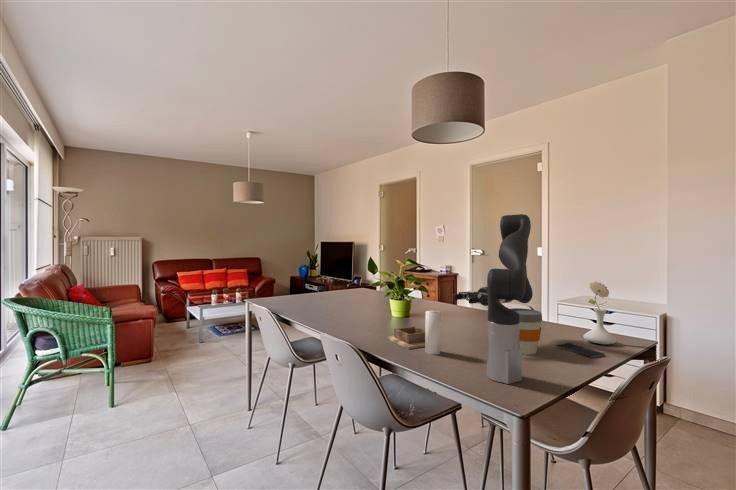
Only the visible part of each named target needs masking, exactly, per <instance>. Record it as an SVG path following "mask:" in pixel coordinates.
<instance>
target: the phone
mask: <svg viewBox="0 0 736 490" xmlns="http://www.w3.org/2000/svg"><path fill="white" fill-rule="evenodd" d="M556 348H558V349H561V350H564V351H567V352H570V353H573V354H576V355H579V356H581V357H584V358H587V359H599V358H602V357H603V358H604V357H606V356H605V355H606V354H605V353H603V352H600V351H597V350H594V349H590V348H587V347H583V346H581V345H578V344H574V343H572V342H571V343H570V342H568V343H567V342H565V343H559V344H556Z"/></svg>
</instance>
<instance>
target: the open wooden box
mask: <svg viewBox="0 0 736 490" xmlns="http://www.w3.org/2000/svg"><path fill="white" fill-rule="evenodd" d="M393 333H394V334H392V335H387V337H386V339H387V340H389V341H391V342H393V343H395V344H397V345H399V346H401V347H403V348H406V349H408V350H412V349H416V348H417V349H418V348H423V347H424V348H425V329H423V328H421V327H418V326H416V325H414V326H407V327H399V328H394V330H393Z"/></svg>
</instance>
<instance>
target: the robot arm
mask: <svg viewBox="0 0 736 490" xmlns="http://www.w3.org/2000/svg"><path fill="white" fill-rule="evenodd" d="M531 226H532V224H531V219H530V217H529V216H528V215H527V214H523V213H520V214H507V215H503V216H501V218H500V222H499V229H500V235H501V240H502V241H501V243H500V246H499V250H498V258H499V261H500V263H501V264H502V265H503V266H504V267H505V268H490V269H489V271H488V273H487V279H486V282H487V283H486V286H481V287H480V288H479V289H478V291H458V293H455V294H453V300H454V301H459V300H466V301H467V302H468V304H470V305H472V304H478V305H479V304H480V305H482V306H483V307H487V331H486V333H487V334H486V335H487V336H486V341H487V342H486V377H487V378H488V379H490V380H492V381H495V382H497V383H498V382H499V383H504V384H506V385H509V384H513V383H517V382H521V381H522V380H523V378H522V377H523V373H522V372H523V354H522V349H520V348H519V336H520V315H519V313H517V312H516V311H514V310H511V309H512V308H509V307H507V306H505V305H504V304H506V303H510V302H511V303H512V302H513V301H516V302H519V303H521V304H528V303H530V301H531V300H532V299H533V294H534V293H533V288H532V286H531V283H530V281H529V278H528V273H527V259H528V255H529V254H528V252H529V249H528V248H529V239H530V233H531Z"/></svg>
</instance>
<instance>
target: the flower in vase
mask: <svg viewBox="0 0 736 490" xmlns="http://www.w3.org/2000/svg"><path fill="white" fill-rule="evenodd" d="M589 289H590V291H591V292H592V293H593V294H594V299H593V298H590V299H589V300H588V301H587V302H588V303H589V304H592V305H596V307H594V308H593V309H592V310H593V311H594V312H595V315H596V325H595V327H594V328H592V329H591V330H588V331H587V332H586V333H584V334H583V338H584V339H585V340H586V341H588V342H591V343H593V344H599V345H612V344H615V343H617V339H616V337H615V336H614V335H613V334H612V333H611V332H609V331H608V330H607V329H606V328H605V327H604V319H605V315H606V313H607V312H608V309H606V308H602V307H601V308H600V306H602V305H604V304H607V301H605V302H602V303H600V304H598V303H597V296H598V297H599V298H601V299H602V298H603V299H604V298H608V297H609V295H610V291H609V289H608V286H606V285H605V284H603V283H602V282H601V281H599V282H598V280H594V281H593V282H590V283H589Z"/></svg>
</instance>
